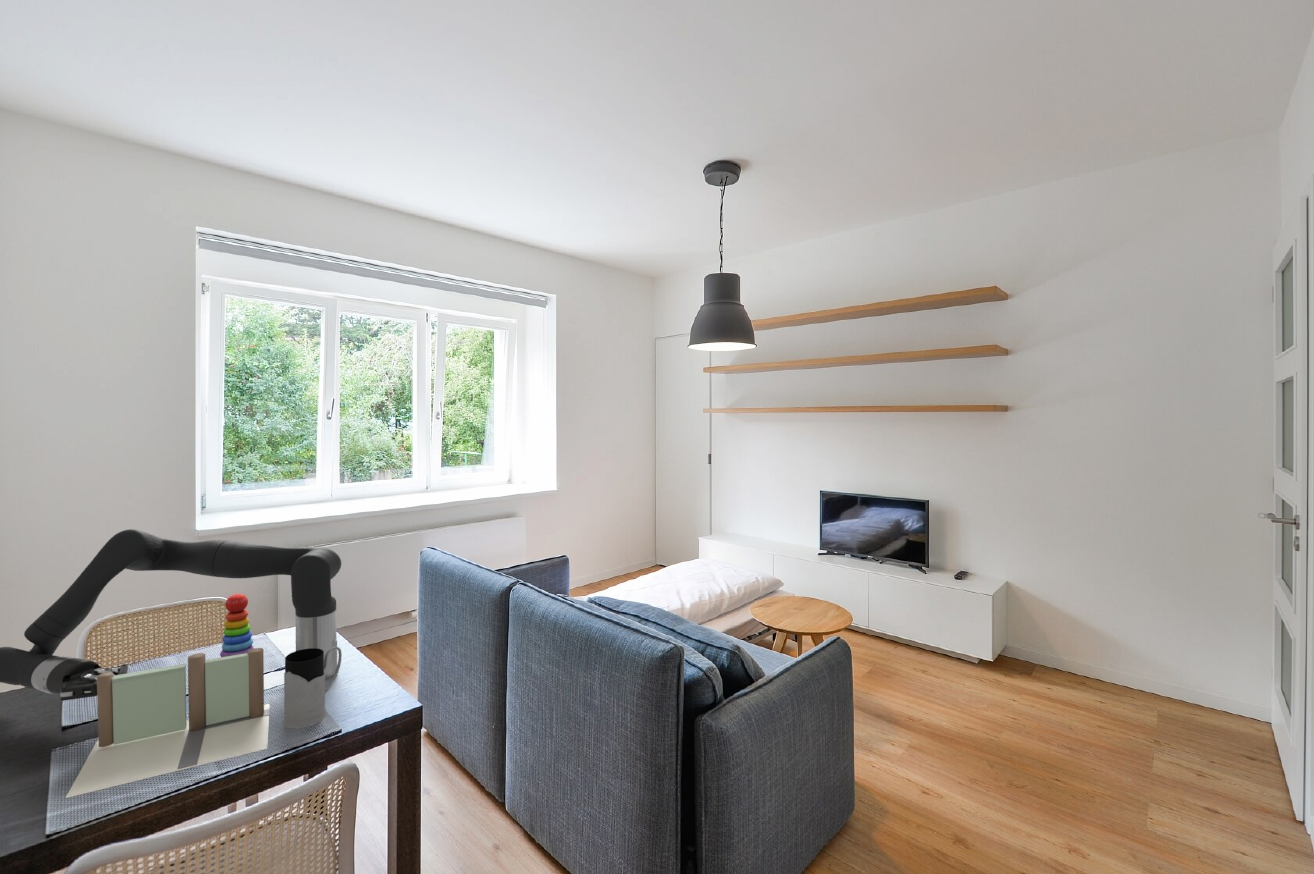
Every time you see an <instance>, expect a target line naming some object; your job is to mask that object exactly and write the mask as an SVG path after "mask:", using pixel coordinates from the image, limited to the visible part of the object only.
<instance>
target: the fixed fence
mask: <svg viewBox="0 0 1314 874" xmlns="http://www.w3.org/2000/svg"><path fill="white" fill-rule="evenodd" d="M264 661H265V659H264V648H262V647H257V648H254V649H251V650H249V651H248V652H247V653H244V654H238V655H232V656H227V657H221V656H220V657H215V658H210V659H206V653H204V652H200V653H194V654H191V655H188V657H187V681H188V682H187V685H188V687H187V688H188V689H187V691H188V695H187V698H188V721H189V730H190V731H197V730H201V729H203V728H205V727H206V725H210V724H215V723H219V722H224V721H229V720H233V719H238V718H242V717H247V716H248V717H249V718H257V717H260V716H262V715H263V714H264V705H265V678H264V675H265V673H264V670H265V669H264V667H265V666H264V663H265V662H264Z"/></svg>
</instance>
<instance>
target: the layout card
mask: <svg viewBox="0 0 1314 874" xmlns="http://www.w3.org/2000/svg"><path fill="white" fill-rule="evenodd" d="M270 708H271V704H270V703H267V704H265V703H264V714H263V715H262V716H260V717H257V718H249V717H248V716H247V717H242V718H238V719H233V720H229V721H224V722H219V723H215V724H210V725H206V727H205V728H203V729H201V730H197V731H190V730H189V720H187V726H186V729H185V730H180V731H176V732H171V733H167V734H162V735H157V736H153V737H148V738H143V739H139V740H134V741H130V742H125V743H120V744H116V745H114V743H113V744H112V745H109V746H106V747H99V739H97V740H96V742H95V744H94V746H93V747H92V749H91V751H90V753H89V754H88V756H87V758H86V760H85V762H84V763H83V765H82V767H81V769H80V770H79V772H78V775H77V777H76V778H75V780H74V782H73V784H72V785H71V788H70V789H69V791H68V793H67V795H66V796H65V799H68V798H72V797H76V796H80V795H84V794H89V793H93V792H97V791H101V790H104V789H105V790H106V789H109V788H113V787H116V786H121V785H125V784H130V783H134V782H138V781H142V780H146V779H150V778H154V777H159V776H162V775H167V774H171V773H175V772H178V771H183V770H186V769H191V768H195V767H199V766H202V765H203V766H204V765H207V764H211V763H216V762H219V761H223V760H228V759H232V758H236V757H240V756H244V755H248V754H252V753H256V752H260V751H263V750H265V751H266V750H268V743H269V727H270V726H269V724H270V710H271V709H270Z"/></svg>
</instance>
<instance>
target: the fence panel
mask: <svg viewBox="0 0 1314 874" xmlns="http://www.w3.org/2000/svg"><path fill="white" fill-rule="evenodd" d="M186 665H187V664H186V663H181V664H175V665H168V666H163V667H157V668H152V669H145V670H139V671H134V672H133V671H132V672H128V673H127V674H121V675H115V676H114V677H113V673H112V672H108V673H103V674H100V675H98V676H97V696H96V697H97V728H98V729H97V733H98V739H97V740H99V747H106V746H109V745H112V744H113V743H114V745H116V744H120V743H125V742H130V741H134V740H139V739H143V738H148V737H153V736H157V735H162V734H167V733H171V732H176V731H180V730H185V729H186V726H187V721H188V720H187V681H186V680H187V679H186V678H187V675H186V673H187V671H186V670H187V669H186V668H187V666H186Z"/></svg>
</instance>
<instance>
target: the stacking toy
mask: <svg viewBox="0 0 1314 874" xmlns="http://www.w3.org/2000/svg"><path fill="white" fill-rule="evenodd" d="M248 604H249V599H248V597H247V596H246V595H245V594H242V593H235V594H231V595H230V596H229V597H228V598H227V599H226V601H225V604H224V605H225V609H226V610H227V611H228V613H226V614H225V619H226V620H225V622H224V624H223V626H224V629H223V634H224V636H223V637H222V642H223V643H222V644H221V648H222V649H221V650H220V653H219V655H220V658H221V657H227V656H232V655H238V654H244V653H247V652H248V651H249V650H251V649H255V648H254V645H253V644H254V639H253V638H252V636H253V633H252V631H250V630H251V625H250V624H249V622H250V619H249V618H248V615H249V612H248V610H246V608H247V607H248Z"/></svg>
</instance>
